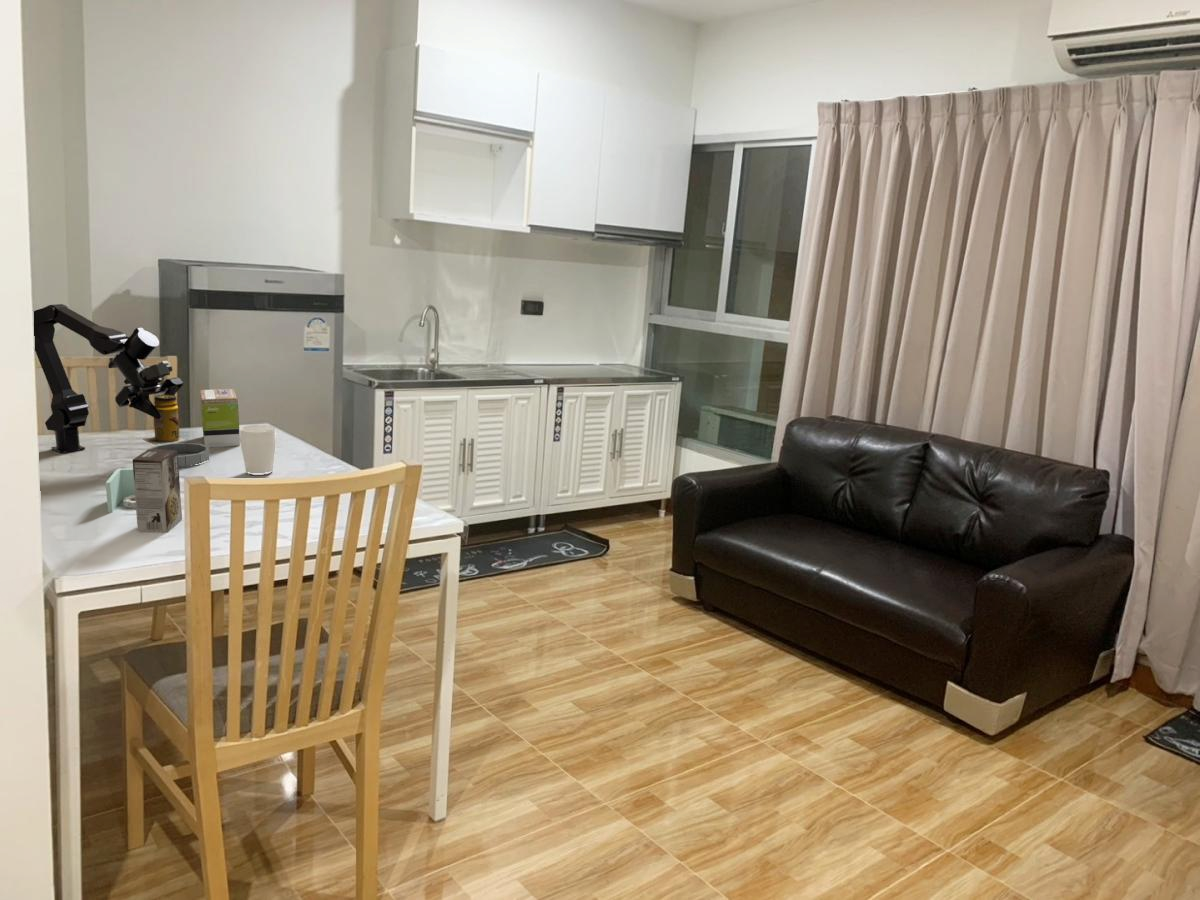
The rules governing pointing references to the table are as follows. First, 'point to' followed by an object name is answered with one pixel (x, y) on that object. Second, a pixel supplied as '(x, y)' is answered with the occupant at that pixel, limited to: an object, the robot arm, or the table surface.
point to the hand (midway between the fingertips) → (168, 416)
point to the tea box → (220, 418)
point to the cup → (258, 447)
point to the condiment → (166, 421)
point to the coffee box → (157, 490)
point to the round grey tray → (187, 452)
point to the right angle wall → (121, 489)
